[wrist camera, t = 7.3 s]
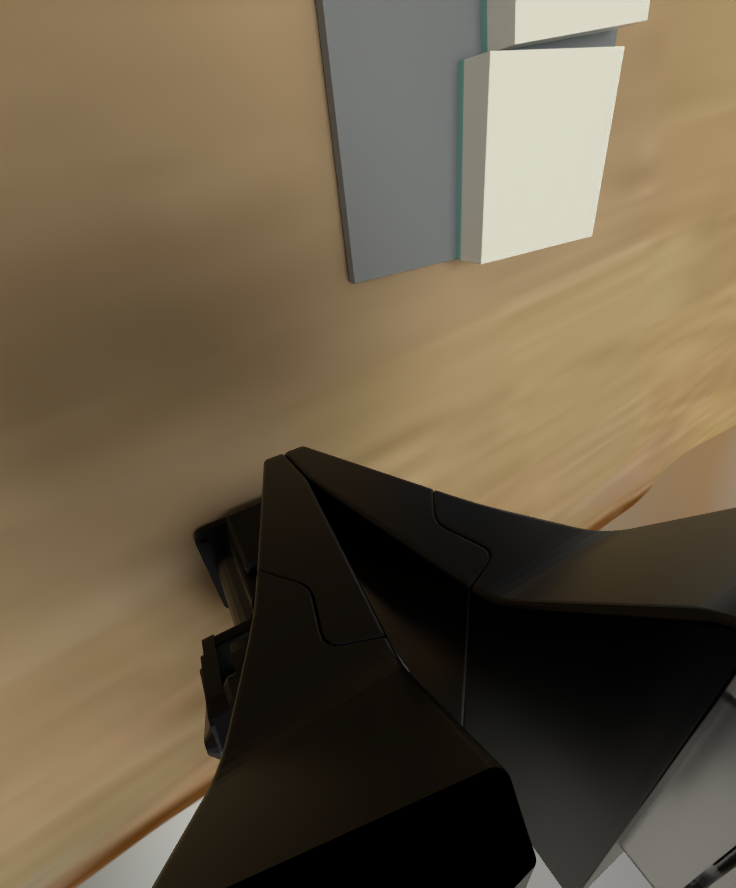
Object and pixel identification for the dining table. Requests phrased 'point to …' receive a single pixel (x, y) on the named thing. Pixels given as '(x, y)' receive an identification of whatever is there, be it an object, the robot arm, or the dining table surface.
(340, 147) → the mat
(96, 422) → the dining table surface
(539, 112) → the tile
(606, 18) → the flat tile
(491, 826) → the robot arm
